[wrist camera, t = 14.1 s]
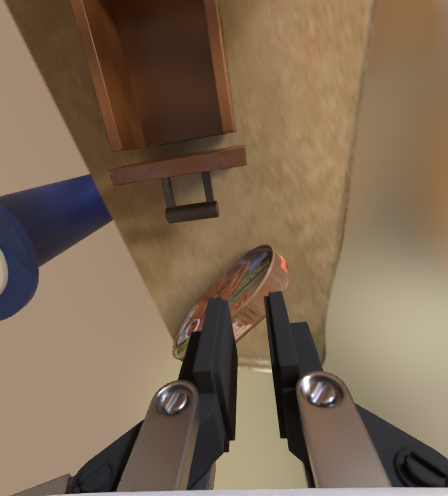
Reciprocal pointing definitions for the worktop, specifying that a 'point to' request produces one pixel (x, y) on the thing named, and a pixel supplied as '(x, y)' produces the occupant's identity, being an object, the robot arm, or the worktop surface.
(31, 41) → the worktop surface
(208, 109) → the drawer
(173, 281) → the worktop surface
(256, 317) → the tin
